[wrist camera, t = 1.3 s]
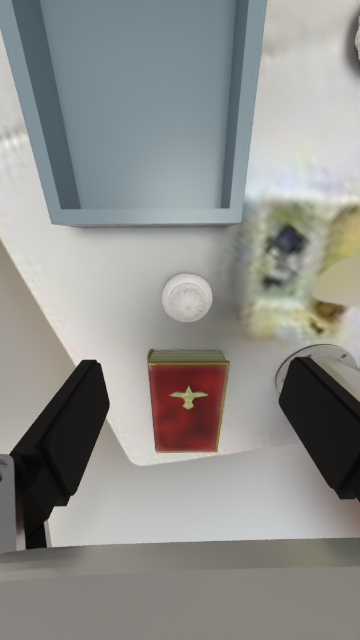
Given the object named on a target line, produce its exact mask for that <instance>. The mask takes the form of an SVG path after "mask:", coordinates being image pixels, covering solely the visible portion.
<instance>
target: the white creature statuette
mask: <svg viewBox="0 0 360 640" xmlns="http://www.w3.org/2000/svg"><path fill="white" fill-rule="evenodd" d="M355 46H356V48H357V51H358V58H359V61H360V16H359V25H358V31H357V33H356V36H355Z"/></svg>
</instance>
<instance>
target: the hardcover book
mask: <svg viewBox="0 0 360 640" xmlns="http://www.w3.org/2000/svg"><path fill="white" fill-rule="evenodd" d="M229 364H230V362H229V361H225V359H224V356H223V354H222V351H153V349H150V351H149V353H148V371H149V382H150V394H151V405H152V417H153V428H154V440H155V451H156V453H184V452H217V449H218V442H219V435H220V428H221V421H222V414H223V407H224V399H225V392H226V385H227V378H228V371H229Z"/></svg>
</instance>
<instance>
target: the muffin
mask: <svg viewBox="0 0 360 640" xmlns="http://www.w3.org/2000/svg"><path fill="white" fill-rule="evenodd" d="M162 304H163V307H164V309H165V311H166V313H167V314H168V315H169V316H170V317H172V318H173V319H175V320H177V321H180V322H184V323H190V322H195V321H197V320H199V319H201V318H202V317H203V316H205V314H206V313H207V312H208V310H209V309H210V307H211V304H212V291H211V288H210V286H209V284H208V283H207V282H206V281H205V280H204V279H203V278H202V277H200V276H198V275H195V274H191V273H182V274H178V275H176V276H174V277H173V278H172V279H170V280H169V282H168V283H167V284H166V286H165V287H164V289H163V292H162Z"/></svg>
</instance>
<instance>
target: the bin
mask: <svg viewBox="0 0 360 640" xmlns="http://www.w3.org/2000/svg"><path fill="white" fill-rule="evenodd" d="M266 5H267V0H0V29H1V33H2V37H3V40H4V44H5V48H6V52H7V56H8V59H9V63H10V67H11V71H12V75H13V78H14V82H15V86H16V90H17V94H18V97H19V101H20V105H21V109H22V113H23V116H24V120H25V124H26V128H27V132H28V136H29V139H30V143H31V147H32V151H33V155H34V158H35V162H36V166H37V170H38V174H39V177H40V181H41V185H42V189H43V193H44V196H45V200H46V204H47V208H48V212H49V215H50V219H51V223H52V224H55V225H64V226H72V227H197V226H231V225H235V224H239V223H241V218H242V210H243V201H244V193H245V184H246V176H247V167H248V159H249V150H250V142H251V133H252V125H253V116H254V107H255V99H256V90H257V82H258V73H259V65H260V56H261V48H262V39H263V31H264V22H265V14H266Z"/></svg>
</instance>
